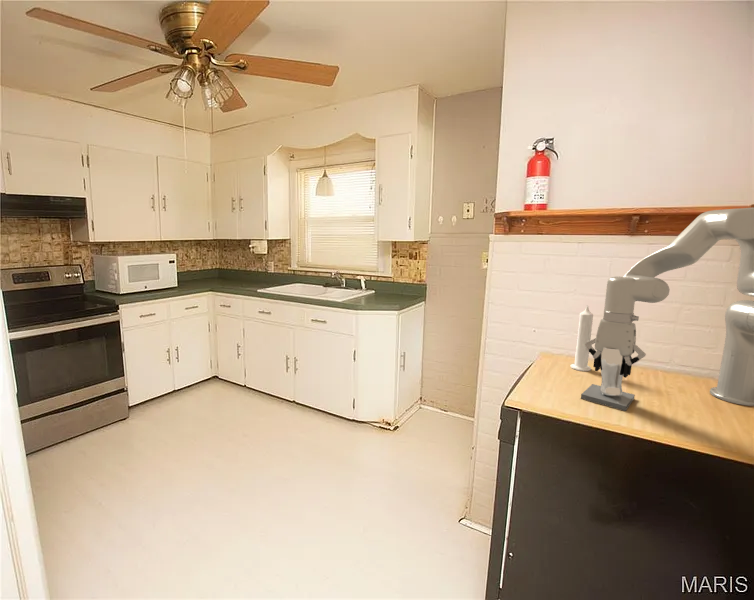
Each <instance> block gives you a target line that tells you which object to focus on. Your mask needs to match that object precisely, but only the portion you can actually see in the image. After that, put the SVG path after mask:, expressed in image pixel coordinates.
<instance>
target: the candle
mask: <svg viewBox="0 0 754 600" xmlns="http://www.w3.org/2000/svg"><path fill="white" fill-rule="evenodd" d="M593 319H594V314H593V313H592V312H591V311H590V309H589V305H586V306H585V309H584V310H582V311H581V312H579V319H578V327H577V337H576V346H575V347H576V348H575V356H574V363H571V364H570V368H571V369H572V370H576V371H578V372H590V371H591V370H592V367H591V366H589V365H588V363H589V357H590V352H589V350H588V349H587V347H586V346H585V343H587V342H589V341H591V340H592V339H591V337H592V330H593V329H592V327H593Z"/></svg>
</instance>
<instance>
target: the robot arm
mask: <svg viewBox="0 0 754 600" xmlns="http://www.w3.org/2000/svg"><path fill="white" fill-rule="evenodd" d="M721 240H735V241H736V242H737V244H738V246H739V249H740V257H739V266H738V272H737V280H736V288H737V291H738V292H739V293H740V294H742V295H745V296H749V297H753V298H754V207H743V208H741V207H740V208H730V209H729V208H728V209H727V208H725V209H714V210H708V211H704V212H703V213H700V214H699V215H698V216H697V217H696V218H695V219H694V220H692V221H691V222H690V224H689V225H688V226H687V227H686V228H684V230H682V231H681V232H680V233H679V234H678V235H677V236H676V237H675V238H674V239H673V240H671V242H670V243H669V244H668V245H666V246H665V247H663V248H661V249H658V250H657V251H655V252H653V253H651V254H650V255H648V256H646V257H644V258H642V259H641V260H639V261H638V262H636V263H635V264H634V265H633V266H632V267H631V268H630V269H629V270H628V271H627V272H626V273H624V275H623V276H611V277H609V278H608V279H607V282H606V289H605V290H606V292H605V299H604V300H605V301H604V309H603V316H602V317H603V318H602V319H600V321H599V324H598V327H597V329H596V330H597V331H596V335H595V338H593V339H590V341H589V342H587V343H585V346H586V347H587V349H588V350H589V354H590V355H592V358H593V360H594V361H593V368H594V372H598V371H599V370H601V369H600V354H601V352H602V351H603V347H605V348H610V349H619V352H620V355H621V356H624V358H625V361H626V364H625V366H624V374H623V378H625V379H626V378H627V377H629V376H630V375H631V373H632V365H634V364H635V363H638V362H639V361H640V360H642V359H644V358H645V357H646V356H647V353H645V352H644V350H642V349H641V348H640V347H639V346H638V345H637V343H636V341H637V328H636V323H635V322H638V321H639V318H640V316H637V315H635V313H634V312H635V311H634V310H635V305H636V304H635V302H641V303H642V302H643V303H649V304H656V303H660V302H662V301H664V300H666V298H668V296H669V295H670V286H669V284H668V283H667V282H666V281H665V280H664V279H661V278H658V277H657V276H660V275H661V274H664V273H666V272H669V271H673V270H677V269H682V268H685V267H688V266H692V265H693V264H694V265H695V263H697V262H698V261H699V260H700V259H701V258H703V257H704V255H705V254H707V252H708V251H709V250H710V249H711V248H712V247H713V246H714V245H716V244H717V243H718V242H720V241H721ZM724 321H725V337H724V338H725V339H724V344H723V345H724V346H723V351H722V357H721V362H720V369H719V374H718V379H717V384H716V385H717V386H714V387H711V388H710V389H709V393H710V395H712V396H713V397H715V398H716V399H720V400H722V401H725V402H728V403H732V404H737V405H740V406H748V407H754V300H751V299H750V300H749V299H746V300H745V299H743V300H737V301H733V302H732V303H731V304H730V305H729V306H727V308H726V310H725V313H724ZM592 345H594V347H593V346H592ZM635 353H636V354H637V355H636V356H635V357H632V355H633V354H635Z"/></svg>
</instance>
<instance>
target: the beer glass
mask: <svg viewBox="0 0 754 600" xmlns="http://www.w3.org/2000/svg"><path fill="white" fill-rule="evenodd" d="M625 364H626V361H625V358H624V356H621V355H620V352H619V349H610V348H605V347H603V351H602V352H601V354H600V369H599V370H600V374H601V385H600V386H601V388H600V392H601V393H602V394H604V395H608V396H615V397H617V396H622V395H623V392H624V391H623V387H622V386H623V385H622V384H623V378H624V377H623V374H624V366H625Z"/></svg>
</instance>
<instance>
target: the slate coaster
mask: <svg viewBox="0 0 754 600" xmlns="http://www.w3.org/2000/svg"><path fill="white" fill-rule="evenodd" d="M600 388H601V385H598V384H594V383H592V384H591V385H590V386H589V387H587V388H586V389H585V390H584V391H583V392H582V393H580V394H581V395H580V399H581V400H584V401H588V402H590V403H591V402H592V403H596V404H599V405H602V406H607V407H609V408H612V409H617V410H619V411H624V412H626V411H627V410H628V409H629V407H630V405H631V404H632V402H634V400H635V396H636V395H635V394H633V393H630V392H626V391H622V392H623V395H622V396H617V397H615V396H608V395H604V394H602V393H601V392H600Z"/></svg>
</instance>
